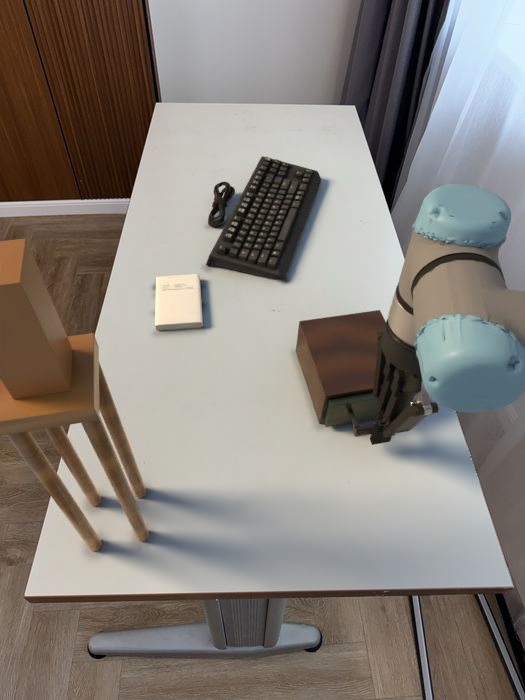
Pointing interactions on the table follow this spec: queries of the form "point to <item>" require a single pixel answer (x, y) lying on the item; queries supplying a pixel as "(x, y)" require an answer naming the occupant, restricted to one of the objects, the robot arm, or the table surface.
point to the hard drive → (178, 302)
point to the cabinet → (338, 355)
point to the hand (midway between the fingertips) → (379, 440)
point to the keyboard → (264, 219)
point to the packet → (30, 328)
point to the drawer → (352, 411)
